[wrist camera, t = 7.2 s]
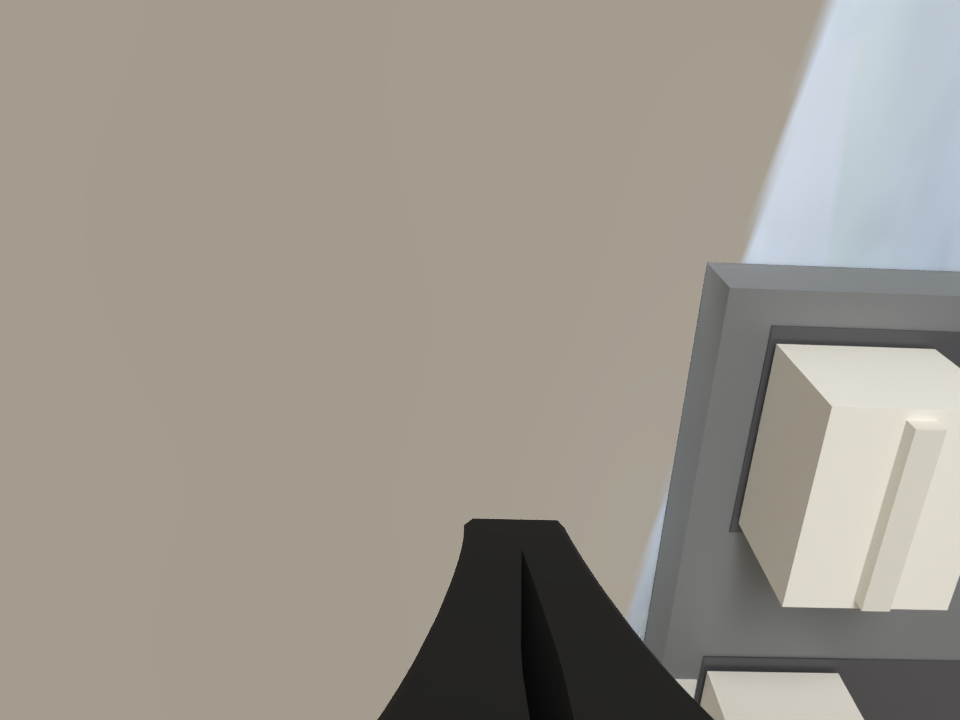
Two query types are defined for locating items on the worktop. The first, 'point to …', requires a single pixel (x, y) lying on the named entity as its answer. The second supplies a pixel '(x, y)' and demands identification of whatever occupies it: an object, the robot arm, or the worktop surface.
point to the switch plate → (723, 479)
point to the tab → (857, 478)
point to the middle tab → (777, 696)
